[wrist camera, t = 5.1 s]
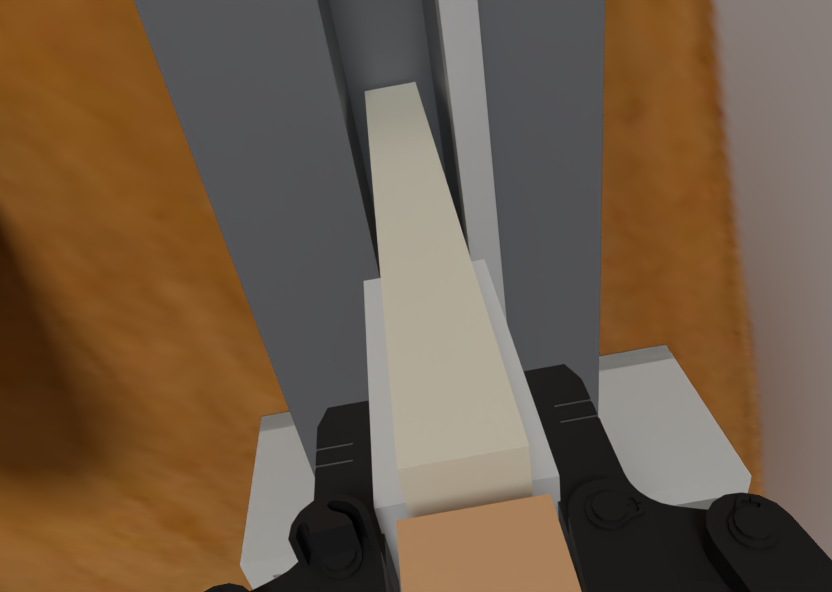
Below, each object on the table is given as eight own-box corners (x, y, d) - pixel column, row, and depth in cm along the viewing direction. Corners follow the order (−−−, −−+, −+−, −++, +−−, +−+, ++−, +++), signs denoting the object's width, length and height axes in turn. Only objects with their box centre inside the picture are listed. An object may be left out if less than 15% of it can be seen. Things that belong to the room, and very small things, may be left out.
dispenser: (542, 334, 30) (604, 487, 23) (332, 372, 30) (329, 535, 23) (515, -197, 19) (623, -229, 11) (176, -133, 19) (71, -124, 11)
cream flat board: (450, 302, 23) (595, 909, 10) (407, 310, 23) (492, 926, 10) (416, 79, 19) (601, 653, 5) (362, 89, 19) (409, 686, 5)
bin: (644, 573, 43) (698, 704, 36) (348, 624, 43) (349, 764, 36) (665, 344, 31) (751, 476, 25) (261, 416, 31) (239, 565, 25)
